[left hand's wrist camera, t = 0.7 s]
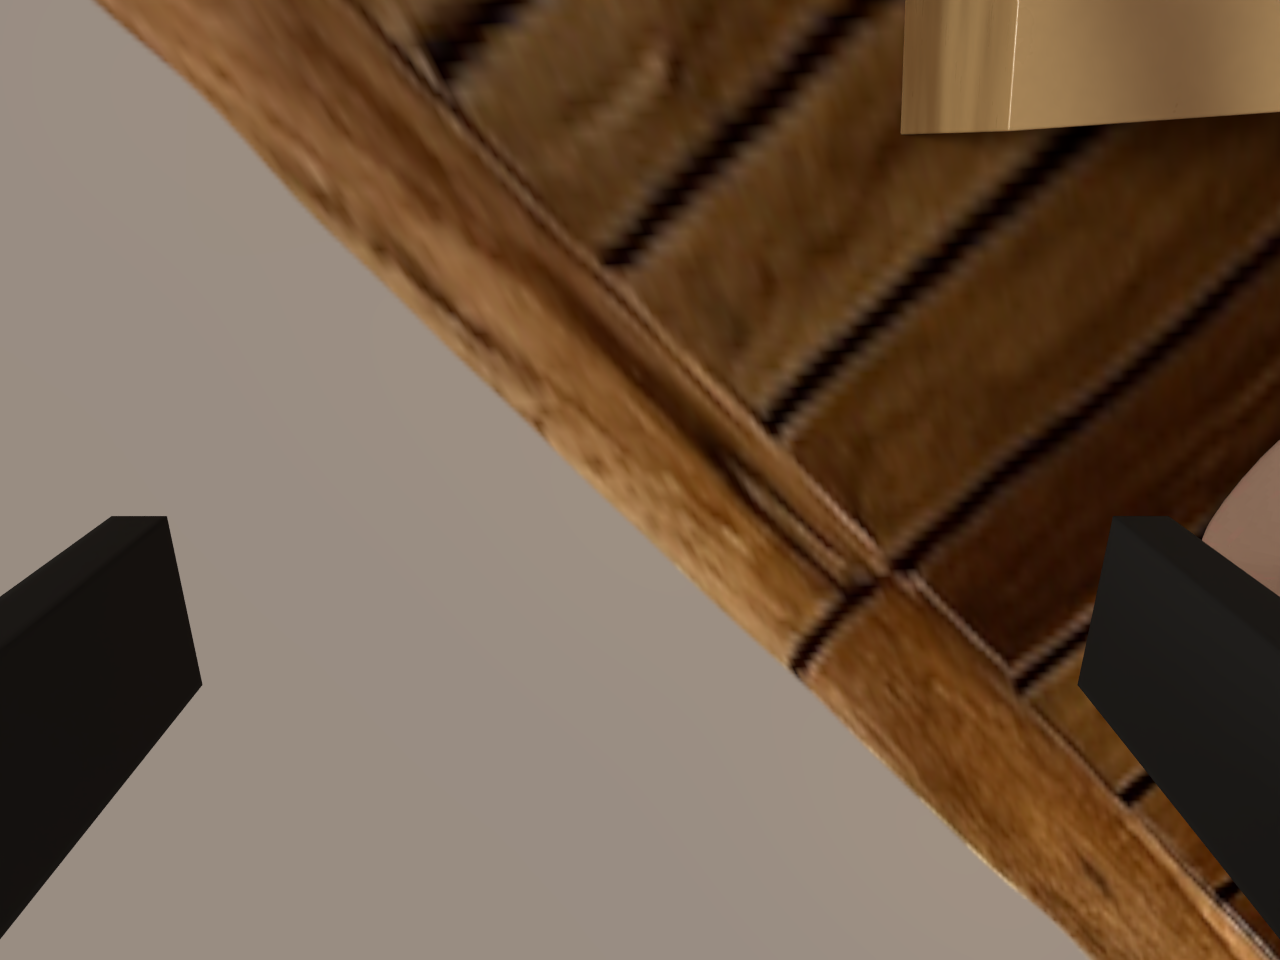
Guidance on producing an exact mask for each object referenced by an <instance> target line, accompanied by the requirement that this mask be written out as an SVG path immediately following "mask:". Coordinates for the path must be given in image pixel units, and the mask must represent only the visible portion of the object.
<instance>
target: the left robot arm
mask: <svg viewBox="0 0 1280 960" xmlns="http://www.w3.org/2000/svg"><path fill="white" fill-rule="evenodd" d="M201 686H202V681H201V676H200V671H199V666H198V662H197V657H196V652H195V648H194V643H193V638H192V633H191V628H190V624H189V619H188V614H187V610H186V605H185V600H184V595H183V591H182V586H181V581H180V576H179V572H178V567H177V562H176V557H175V553H174V548H173V543H172V538H171V534H170V529H169V524H168V520H167V516H111V517H110V518H109V519H107V520H106V521H104V522H103V523H102V524H100V525H99V526H97V527H96V528H95V529H93V530H92V531H90V532H89V533H88V534H86V535H85V536H84V537H82V538H81V539H79V540H78V541H77V542H75V543H74V544H72V545H71V546H70V547H68V548H67V549H66V550H64V551H63V552H61V553H60V554H59V555H57V556H56V557H54V558H53V559H52V560H50V561H49V562H48V563H46V564H45V565H43V566H42V567H41V568H39V569H38V570H36V571H35V572H34V573H32V574H31V575H30V576H28V577H27V578H25V579H24V580H23V581H21V582H20V583H19V584H17V585H16V586H14V587H13V588H12V589H10V590H9V591H8V592H6V593H5V594H3V595H2V596H1V597H0V939H1V937H2V936H3V935H4V934H5V932H6V931H7V930H8V929H9V927H10V926H11V925H12V923H13V922H14V921H15V920H16V919H17V917H18V916H19V915H20V914H21V912H22V911H23V910H24V909H25V907H26V906H27V905H28V903H29V902H30V901H31V900H32V898H33V897H34V896H35V895H36V893H37V892H38V891H39V890H40V888H41V887H42V886H43V885H44V883H45V882H46V881H47V880H48V878H49V877H50V876H51V875H52V873H53V872H54V871H55V870H56V868H57V867H58V866H59V864H60V863H61V862H62V861H63V859H64V858H65V857H66V856H67V854H68V853H69V852H70V851H71V849H72V848H73V847H74V846H75V844H76V843H77V842H78V841H79V839H80V838H81V837H82V836H83V834H84V833H85V832H86V831H87V829H88V828H89V827H90V826H91V824H92V823H93V822H94V821H95V819H96V818H97V817H98V815H99V814H100V813H101V812H102V810H103V809H104V808H105V807H106V805H107V804H108V803H109V802H110V800H111V799H112V798H113V797H114V795H115V794H116V793H117V792H118V790H119V789H120V788H121V787H122V785H123V784H124V783H125V782H126V780H127V779H128V778H129V776H130V775H131V774H132V773H133V771H134V770H135V769H136V768H137V766H138V765H139V764H140V763H141V761H142V760H143V759H144V758H145V756H146V755H147V754H148V753H149V751H150V750H151V749H152V748H153V746H154V745H155V744H156V743H157V741H158V740H159V739H160V737H161V736H162V735H163V734H164V732H165V731H166V730H167V729H168V727H169V726H170V725H171V724H172V722H173V721H174V720H175V719H176V717H177V716H178V715H179V714H180V712H181V711H182V710H183V709H184V707H185V706H186V705H187V703H188V702H189V701H190V700H191V699H192V697H193V696H194V695H195V693H196V692H197V691H198V690H199V688H200V687H201ZM1078 686H1079V687H1080V688H1081V690H1082V691H1083V692H1084V694H1085V695H1086V696H1087V697H1088V699H1089V700H1090V701H1091V702H1092V704H1093V705H1094V706H1095V707H1096V709H1097V710H1098V711H1099V712H1100V714H1101V715H1102V716H1103V717H1104V719H1105V720H1106V721H1107V722H1108V724H1109V725H1110V726H1111V727H1112V729H1113V730H1114V731H1115V732H1116V734H1117V735H1118V736H1119V738H1120V739H1121V740H1122V741H1123V743H1124V744H1125V745H1126V746H1127V748H1128V749H1129V750H1130V751H1131V753H1132V754H1133V755H1134V756H1135V758H1136V759H1137V760H1138V761H1139V763H1140V764H1141V765H1142V766H1143V768H1144V769H1145V770H1146V771H1147V773H1148V774H1149V775H1150V776H1151V778H1152V779H1153V780H1154V782H1155V783H1156V784H1157V785H1158V787H1159V788H1160V789H1161V790H1162V792H1163V793H1164V794H1165V795H1166V797H1167V798H1168V799H1169V800H1170V802H1171V803H1172V804H1173V805H1174V807H1175V808H1176V809H1177V810H1178V812H1179V813H1180V814H1181V815H1182V817H1183V818H1184V819H1185V821H1186V822H1187V823H1188V824H1189V826H1190V827H1191V828H1192V829H1193V831H1194V832H1195V833H1196V834H1197V836H1198V837H1199V838H1200V839H1201V841H1202V842H1203V843H1204V844H1205V846H1206V847H1207V848H1208V849H1209V851H1210V852H1211V853H1212V854H1213V856H1214V857H1215V858H1216V859H1217V861H1218V862H1219V863H1220V865H1221V866H1222V867H1223V868H1224V870H1225V871H1226V872H1227V873H1228V875H1229V876H1230V877H1231V878H1232V880H1233V881H1234V882H1235V883H1236V885H1237V886H1238V887H1239V888H1240V890H1241V891H1242V892H1243V893H1244V895H1245V896H1246V897H1247V898H1248V900H1249V901H1250V902H1251V903H1252V905H1253V906H1254V907H1255V909H1256V910H1257V911H1258V912H1259V914H1260V915H1261V916H1262V917H1263V919H1264V920H1265V921H1266V922H1267V924H1268V925H1269V926H1270V927H1271V929H1272V930H1273V931H1274V932H1275V934H1276V935H1277V936H1278V937H1279V939H1280V596H1278V595H1277V594H1275V593H1274V592H1273V591H1271V590H1270V589H1268V588H1267V587H1266V586H1264V585H1263V584H1262V583H1260V582H1259V581H1257V580H1256V579H1255V578H1253V577H1252V576H1250V575H1249V574H1248V573H1246V572H1245V571H1244V570H1242V569H1241V568H1239V567H1238V566H1237V565H1235V564H1234V563H1232V562H1231V561H1230V560H1228V559H1227V558H1226V557H1224V556H1223V555H1221V554H1220V553H1219V552H1217V551H1216V550H1214V549H1213V548H1212V547H1210V546H1209V545H1208V544H1206V543H1205V542H1203V541H1202V540H1201V539H1199V538H1198V537H1196V536H1195V535H1194V534H1192V533H1191V532H1190V531H1188V530H1187V529H1185V528H1184V527H1183V526H1181V525H1180V524H1178V523H1177V522H1176V521H1174V520H1173V519H1172V518H1170V517H1169V516H1113V520H1112V524H1111V529H1110V534H1109V539H1108V543H1107V548H1106V553H1105V557H1104V562H1103V567H1102V572H1101V576H1100V581H1099V586H1098V591H1097V595H1096V600H1095V605H1094V610H1093V614H1092V619H1091V624H1090V628H1089V633H1088V638H1087V643H1086V647H1085V652H1084V657H1083V662H1082V666H1081V671H1080V676H1079V681H1078Z"/></svg>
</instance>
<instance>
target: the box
mask: <svg viewBox="0 0 1280 960" xmlns="http://www.w3.org/2000/svg"><path fill="white" fill-rule="evenodd" d="M1272 112H1280V0H905V29H904V57H903V86H902V114H901V134H902V135H907V134H938V133H969V132H1000V131H1019V130H1033V129H1047V128H1061V127H1075V126H1089V125H1103V124H1117V123H1131V122H1145V121H1159V120H1173V119H1187V118H1201V117H1215V116H1229V115H1244V114H1258V113H1272Z"/></svg>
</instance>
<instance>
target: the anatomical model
mask: <svg viewBox="0 0 1280 960" xmlns="http://www.w3.org/2000/svg"><path fill="white" fill-rule="evenodd" d="M1202 541H1203V542H1205V543H1206V544H1208V545H1209V546H1210V547H1212V548H1213V549H1214V550H1216V551H1217V552H1219V553H1220V554H1221V555H1223V556H1224V557H1226V558H1227V559H1228V560H1230V561H1231V562H1232V563H1234V564H1235V565H1237V566H1238V567H1239V568H1241V569H1242V570H1244V571H1245V572H1246V573H1248V574H1249V575H1250V576H1252V577H1253V578H1255V579H1256V580H1257V581H1259V582H1260V583H1262V584H1263V585H1264V586H1266V587H1267V588H1268V589H1270V590H1271V591H1273V592H1274V593H1275V594H1277V595H1278V596H1280V440H1279V441H1278V442H1277V443H1276V444H1275V445H1274V446H1273V447H1272V448H1270V449H1269V450H1268V451H1267V452H1266V453H1265V454H1264V455H1263V456H1262V457H1261V458H1260V459H1259V460H1258V461H1257V463H1256V464H1255V465H1254V466H1253V467H1252V468H1251V469H1250V470H1249V471H1248V473H1247V474H1246V475H1245V476H1244V477H1243V478H1242V479H1241V481H1240V482H1239V483H1238V484H1237V486H1236V487H1235V488H1234V489H1233V490H1232V492H1231V493H1230V494H1229V495H1228V497H1227V498H1226V499H1225V500H1224V502H1223V503H1222V505H1221V506H1220V508H1219V509H1218V511H1217V512H1216V514H1215V515H1214V516H1213V518H1212V520H1211V521H1210V523H1209V525H1208V527H1207V529H1206V531H1205V533H1204V536H1203V538H1202Z"/></svg>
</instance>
